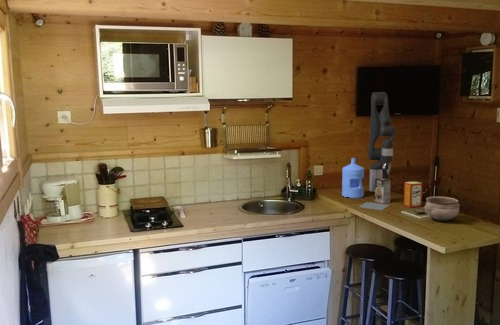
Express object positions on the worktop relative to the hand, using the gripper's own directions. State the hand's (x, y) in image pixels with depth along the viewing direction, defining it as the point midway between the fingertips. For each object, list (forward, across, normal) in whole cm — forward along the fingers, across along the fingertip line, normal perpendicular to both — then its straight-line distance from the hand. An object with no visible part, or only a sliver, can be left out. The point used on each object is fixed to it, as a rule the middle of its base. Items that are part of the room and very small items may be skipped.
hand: (386, 179), depth 328 cm
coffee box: (+15, +7, 0) cm, 17 cm away
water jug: (+15, +1, -24) cm, 28 cm away
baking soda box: (+15, +8, +21) cm, 27 cm away
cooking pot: (+15, +34, +45) cm, 58 cm away
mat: (+15, +23, 0) cm, 27 cm away
